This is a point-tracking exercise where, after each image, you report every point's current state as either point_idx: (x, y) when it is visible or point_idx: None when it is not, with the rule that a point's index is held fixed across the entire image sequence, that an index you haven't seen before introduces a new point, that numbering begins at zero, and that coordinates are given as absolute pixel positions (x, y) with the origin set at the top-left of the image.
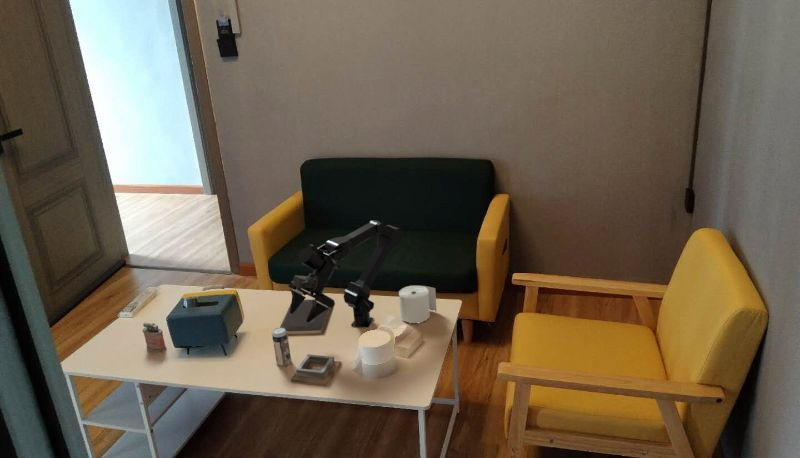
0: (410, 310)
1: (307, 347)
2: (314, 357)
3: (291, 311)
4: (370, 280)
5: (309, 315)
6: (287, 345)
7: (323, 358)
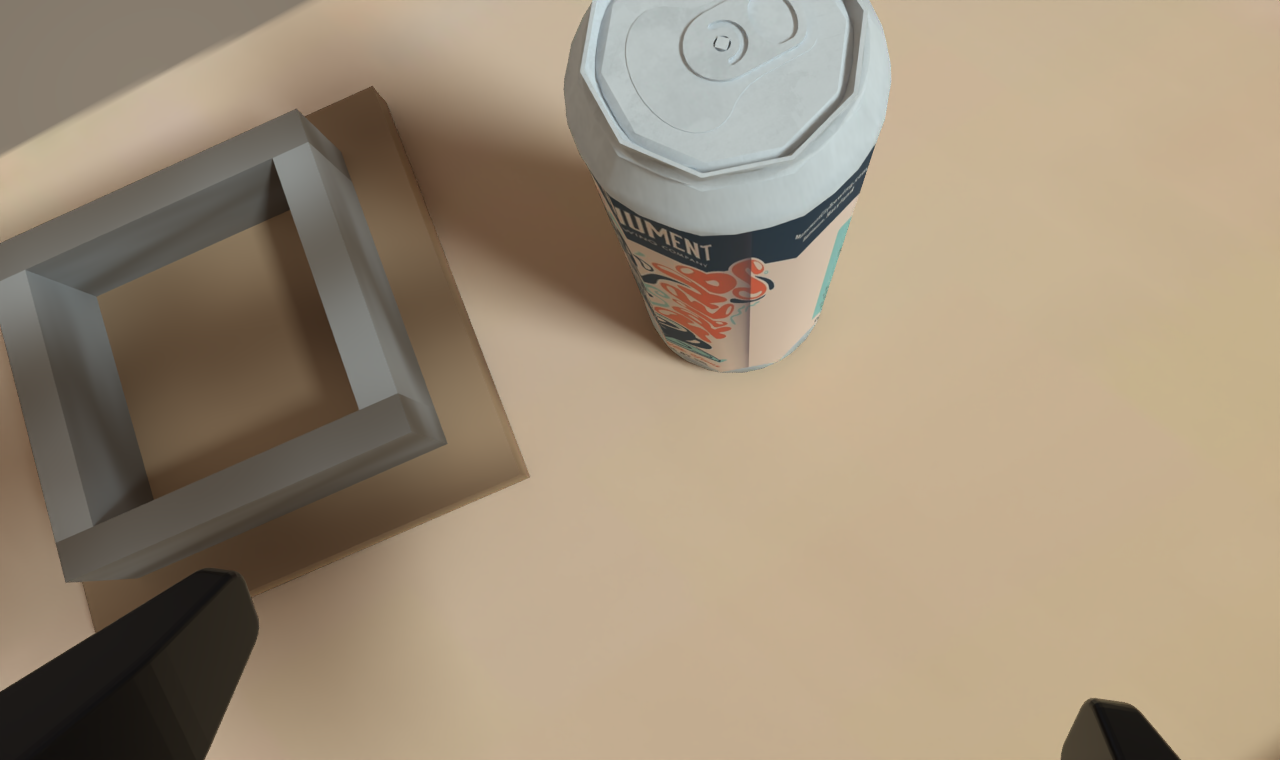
0: None
1: (755, 708)
2: (301, 440)
3: (1094, 757)
4: None
5: (23, 699)
6: (618, 232)
7: (184, 491)
